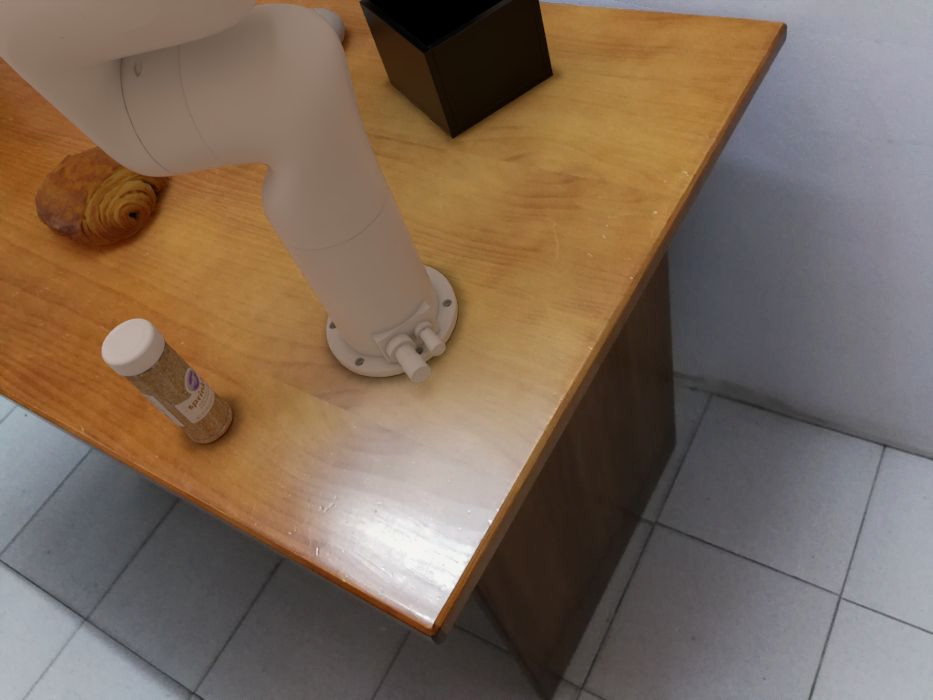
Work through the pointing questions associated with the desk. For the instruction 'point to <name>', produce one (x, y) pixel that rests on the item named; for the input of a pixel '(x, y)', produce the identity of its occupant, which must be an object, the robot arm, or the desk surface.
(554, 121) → the desk surface
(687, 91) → the desk surface
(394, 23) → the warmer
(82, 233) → the croissant
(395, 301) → the robot arm
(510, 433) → the desk surface
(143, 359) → the sprinkles bottle
